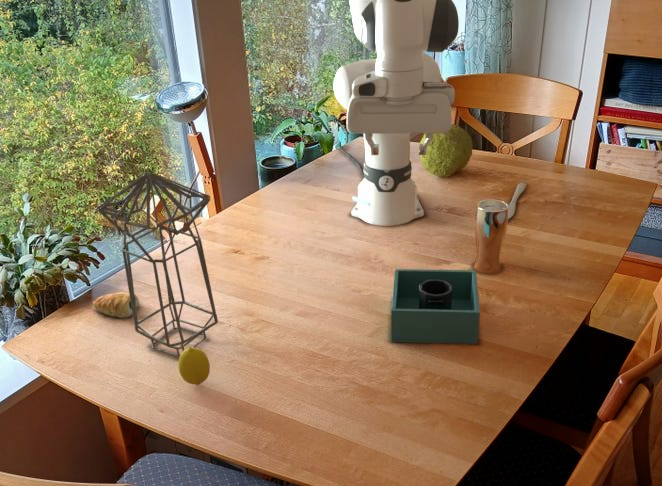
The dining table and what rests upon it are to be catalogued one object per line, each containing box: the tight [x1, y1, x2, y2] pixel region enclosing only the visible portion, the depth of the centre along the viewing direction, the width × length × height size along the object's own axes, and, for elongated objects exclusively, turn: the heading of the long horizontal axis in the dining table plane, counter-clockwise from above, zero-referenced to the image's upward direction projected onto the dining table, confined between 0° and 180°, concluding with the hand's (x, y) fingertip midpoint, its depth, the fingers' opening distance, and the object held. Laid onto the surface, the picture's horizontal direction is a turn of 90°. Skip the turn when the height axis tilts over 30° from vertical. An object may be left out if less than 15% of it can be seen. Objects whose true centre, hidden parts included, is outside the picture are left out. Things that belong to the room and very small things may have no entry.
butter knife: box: [508, 182, 527, 220], centre depth 196 cm, size 1×27×3 cm
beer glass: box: [473, 198, 509, 275], centre depth 163 cm, size 7×7×15 cm
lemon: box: [177, 346, 211, 386], centre depth 133 cm, size 6×6×8 cm
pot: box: [419, 279, 452, 310], centre depth 148 cm, size 9×6×7 cm
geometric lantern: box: [93, 172, 219, 358], centre depth 137 cm, size 16×16×35 cm
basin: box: [390, 268, 481, 345], centre depth 148 cm, size 17×17×7 cm
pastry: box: [92, 291, 140, 319], centre depth 158 cm, size 9×7×4 cm
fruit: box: [418, 123, 474, 178], centre depth 212 cm, size 16×14×15 cm
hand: (398, 154), depth 146 cm, fingers open, 8 cm apart
